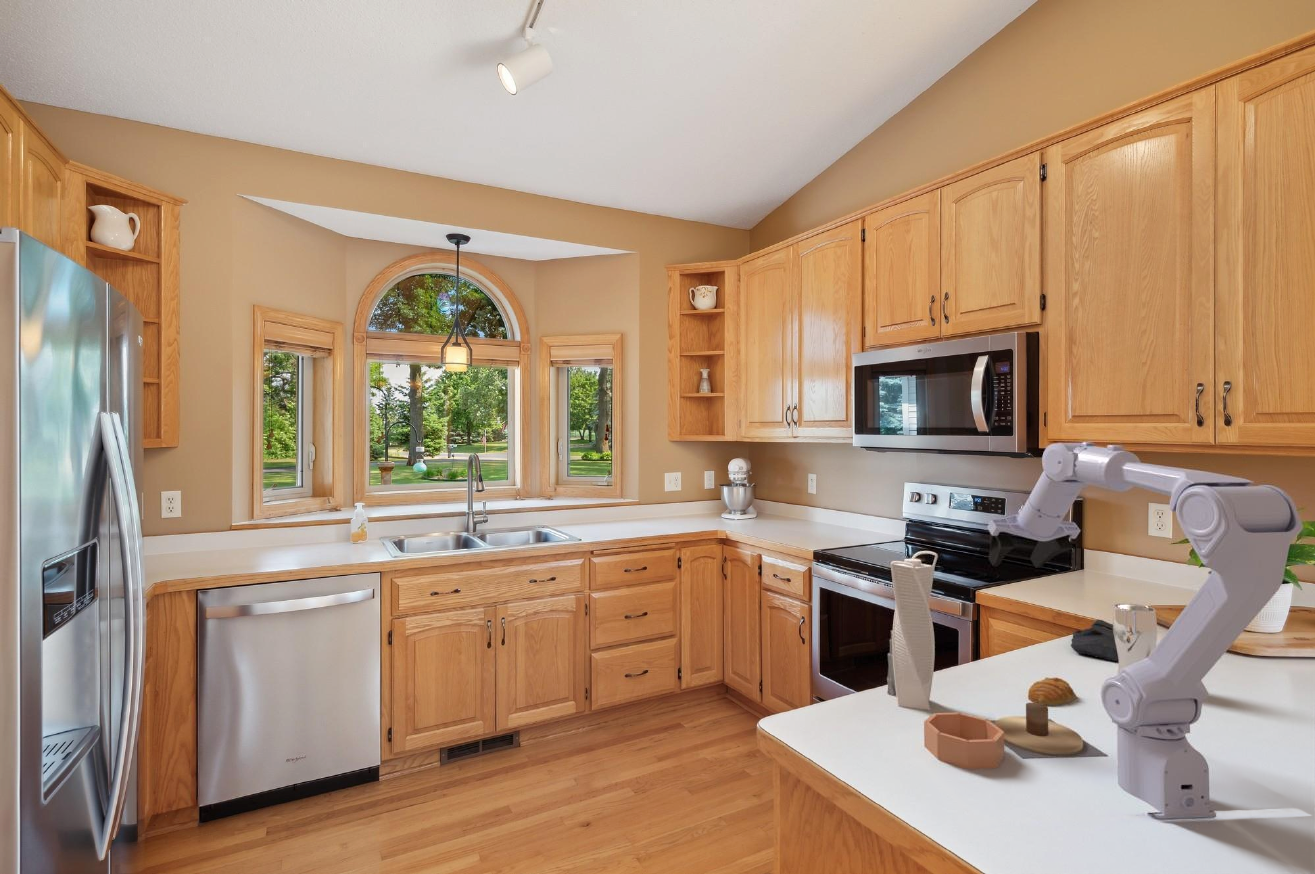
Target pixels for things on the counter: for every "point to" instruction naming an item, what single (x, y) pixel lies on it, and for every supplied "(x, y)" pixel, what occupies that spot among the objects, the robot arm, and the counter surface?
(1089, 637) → the dark slate chunk
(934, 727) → the bowl
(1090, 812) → the counter surface
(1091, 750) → the mat
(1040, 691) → the pastry
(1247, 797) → the counter surface
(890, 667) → the skyscraper
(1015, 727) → the lid
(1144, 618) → the beer glass
